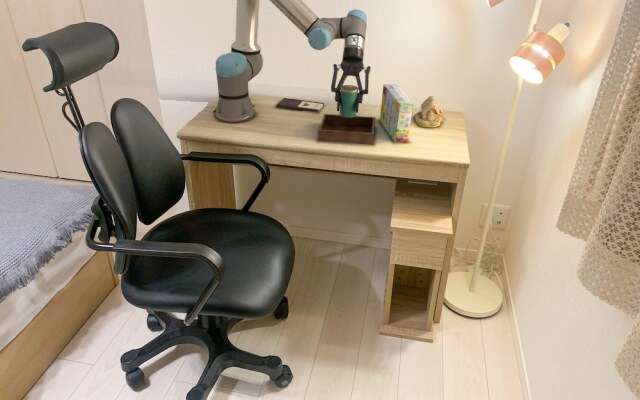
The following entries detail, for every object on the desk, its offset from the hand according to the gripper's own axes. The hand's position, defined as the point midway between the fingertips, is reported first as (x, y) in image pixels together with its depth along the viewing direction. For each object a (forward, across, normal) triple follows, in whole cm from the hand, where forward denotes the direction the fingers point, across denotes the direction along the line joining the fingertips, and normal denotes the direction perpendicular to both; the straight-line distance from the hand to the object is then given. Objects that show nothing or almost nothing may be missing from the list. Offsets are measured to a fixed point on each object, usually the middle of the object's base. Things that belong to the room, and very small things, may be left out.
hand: (347, 110), depth 169 cm
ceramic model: (-8, +31, +23) cm, 39 cm away
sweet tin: (0, 0, +5) cm, 5 cm away
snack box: (+1, +17, +14) cm, 23 cm away
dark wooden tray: (+5, 0, +10) cm, 11 cm away
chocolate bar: (-12, -22, +28) cm, 38 cm away
